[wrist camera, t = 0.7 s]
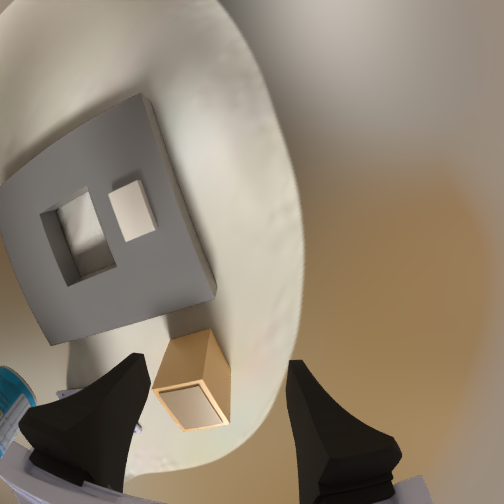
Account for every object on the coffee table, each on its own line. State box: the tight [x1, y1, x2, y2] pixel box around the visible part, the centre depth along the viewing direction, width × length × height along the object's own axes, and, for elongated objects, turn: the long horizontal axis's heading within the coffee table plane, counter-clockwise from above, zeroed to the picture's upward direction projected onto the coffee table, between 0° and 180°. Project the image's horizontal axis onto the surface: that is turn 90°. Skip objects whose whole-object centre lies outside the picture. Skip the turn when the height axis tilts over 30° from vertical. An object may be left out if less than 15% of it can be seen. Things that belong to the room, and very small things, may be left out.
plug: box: [151, 328, 231, 432], centre depth 21 cm, size 4×5×7 cm
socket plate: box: [0, 93, 217, 346], centre depth 19 cm, size 18×16×3 cm
